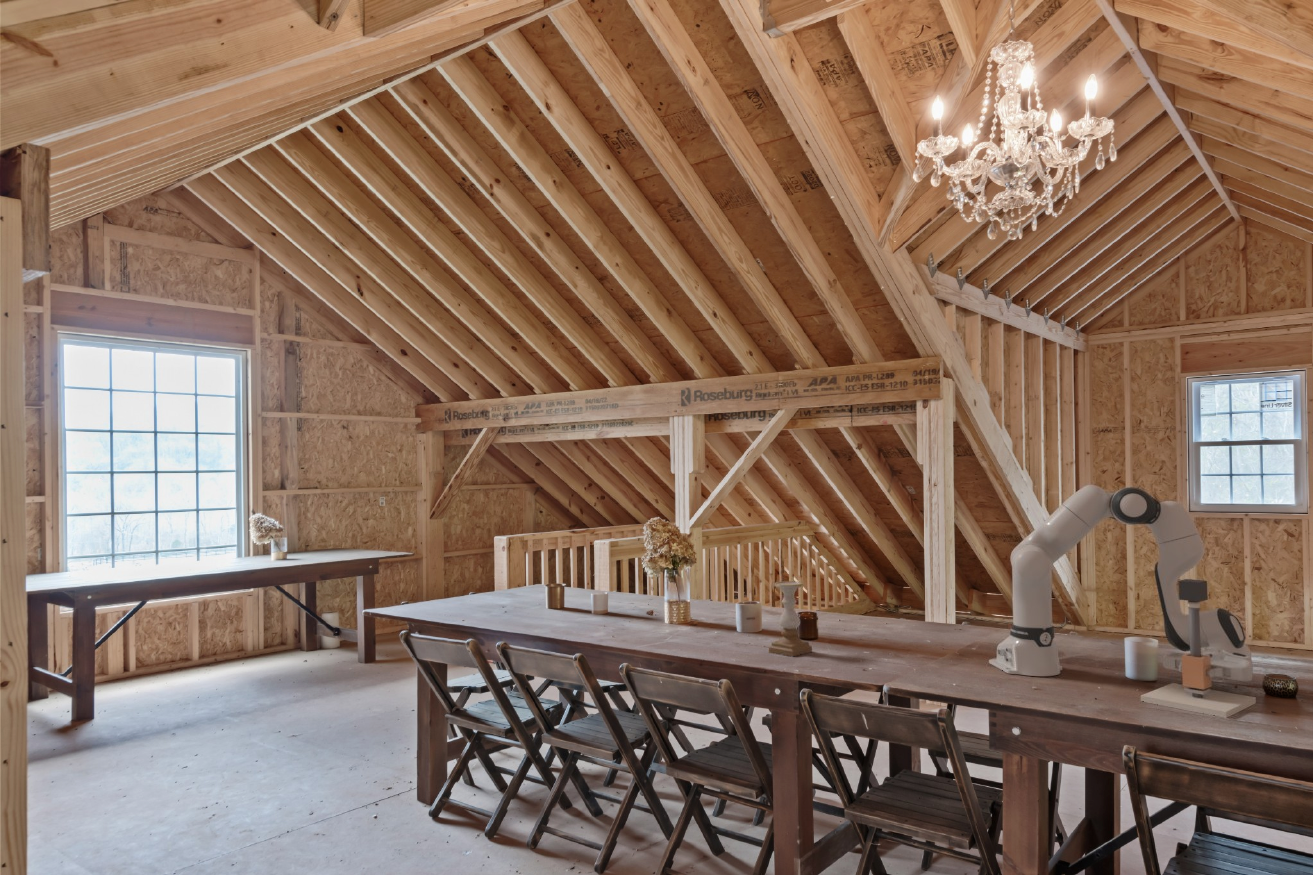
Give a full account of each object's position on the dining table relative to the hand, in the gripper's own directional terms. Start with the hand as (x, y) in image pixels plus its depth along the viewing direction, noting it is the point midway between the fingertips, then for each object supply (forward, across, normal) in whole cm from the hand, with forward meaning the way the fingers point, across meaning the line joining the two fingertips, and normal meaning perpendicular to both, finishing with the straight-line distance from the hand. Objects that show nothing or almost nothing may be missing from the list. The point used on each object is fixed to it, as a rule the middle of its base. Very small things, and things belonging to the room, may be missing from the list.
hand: (1195, 671), depth 223 cm
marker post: (-1, 0, +8) cm, 8 cm away
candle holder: (+34, -114, +9) cm, 120 cm away
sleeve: (-1, 0, +4) cm, 4 cm away
